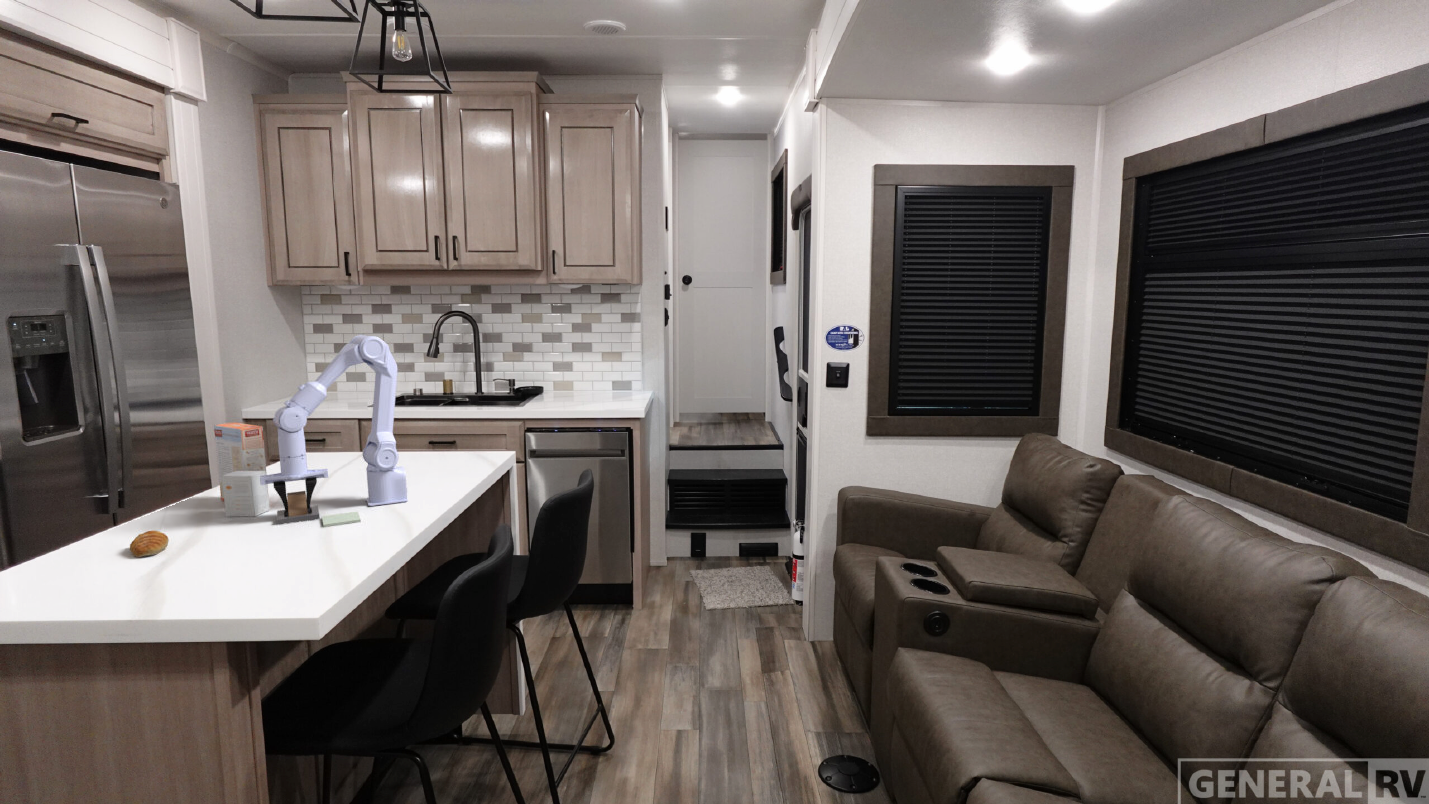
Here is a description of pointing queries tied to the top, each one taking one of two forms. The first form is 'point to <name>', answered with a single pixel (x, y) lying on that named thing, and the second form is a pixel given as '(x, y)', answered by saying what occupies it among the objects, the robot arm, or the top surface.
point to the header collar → (282, 519)
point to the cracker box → (239, 449)
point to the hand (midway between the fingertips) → (297, 509)
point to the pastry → (149, 543)
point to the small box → (245, 493)
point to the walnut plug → (297, 503)
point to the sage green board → (340, 519)
